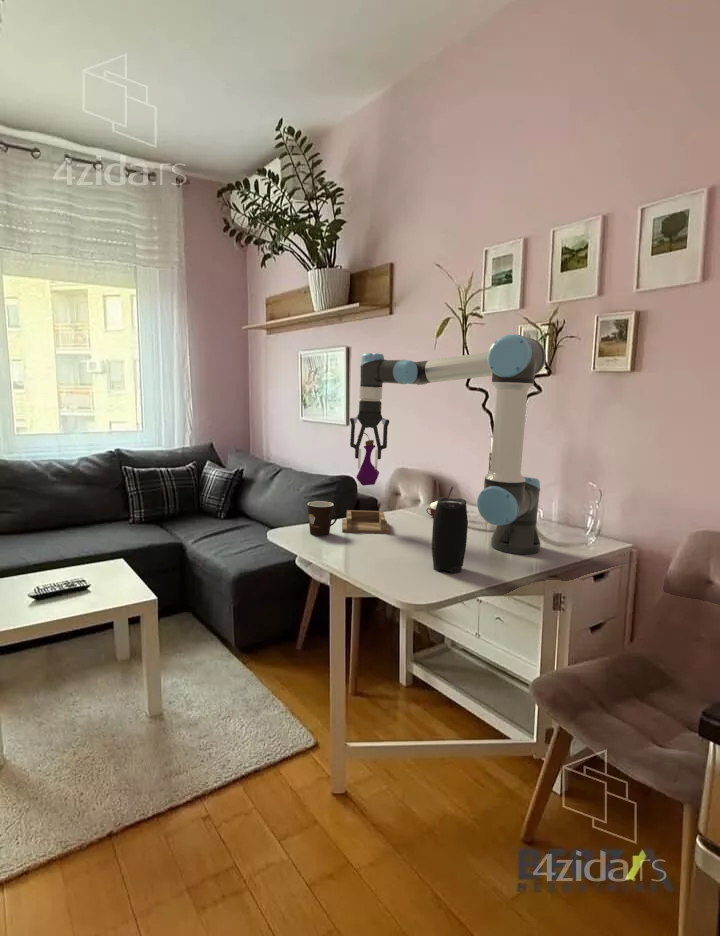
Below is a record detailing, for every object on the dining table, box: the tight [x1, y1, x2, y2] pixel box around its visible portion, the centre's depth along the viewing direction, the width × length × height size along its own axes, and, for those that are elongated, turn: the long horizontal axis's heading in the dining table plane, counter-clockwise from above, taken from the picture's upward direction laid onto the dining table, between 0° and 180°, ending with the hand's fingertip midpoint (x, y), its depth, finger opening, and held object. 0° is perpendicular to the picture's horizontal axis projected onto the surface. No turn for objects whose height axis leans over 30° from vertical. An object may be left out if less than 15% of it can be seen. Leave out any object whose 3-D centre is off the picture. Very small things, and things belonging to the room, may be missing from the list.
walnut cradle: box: [341, 509, 391, 535], centre depth 196 cm, size 14×16×4 cm
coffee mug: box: [307, 500, 338, 537], centre depth 184 cm, size 12×9×10 cm
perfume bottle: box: [355, 432, 380, 486], centre depth 193 cm, size 8×8×18 cm
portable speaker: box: [431, 496, 469, 574], centre depth 154 cm, size 9×9×20 cm
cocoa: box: [425, 486, 454, 518], centre depth 215 cm, size 10×6×12 cm, turn 68°
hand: (367, 468), depth 193 cm, fingers closed on perfume bottle, 5 cm apart
